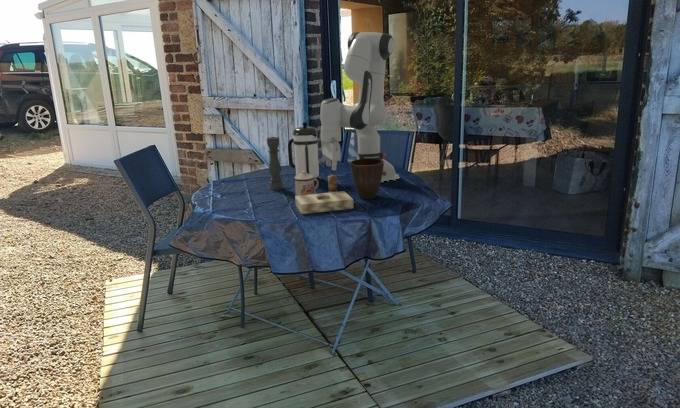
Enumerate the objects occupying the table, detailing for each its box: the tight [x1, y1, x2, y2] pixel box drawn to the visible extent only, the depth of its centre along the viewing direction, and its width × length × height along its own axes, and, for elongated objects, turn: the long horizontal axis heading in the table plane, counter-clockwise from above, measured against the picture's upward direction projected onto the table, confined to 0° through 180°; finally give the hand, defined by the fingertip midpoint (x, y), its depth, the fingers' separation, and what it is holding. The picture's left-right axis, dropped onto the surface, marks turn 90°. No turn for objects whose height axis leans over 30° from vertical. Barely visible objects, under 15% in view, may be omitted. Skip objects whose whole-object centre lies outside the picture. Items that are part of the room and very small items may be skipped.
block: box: [294, 190, 354, 215], centre depth 206 cm, size 22×14×4 cm, turn 105°
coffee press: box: [287, 121, 323, 182], centre depth 251 cm, size 17×16×30 cm
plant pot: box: [349, 159, 384, 200], centre depth 217 cm, size 15×15×16 cm
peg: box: [327, 174, 338, 193], centre depth 218 cm, size 4×4×10 cm
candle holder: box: [266, 136, 284, 191], centre depth 236 cm, size 6×6×25 cm
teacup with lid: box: [293, 171, 320, 196], centre depth 223 cm, size 12×9×12 cm
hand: (331, 168), depth 215 cm, fingers open, 8 cm apart
